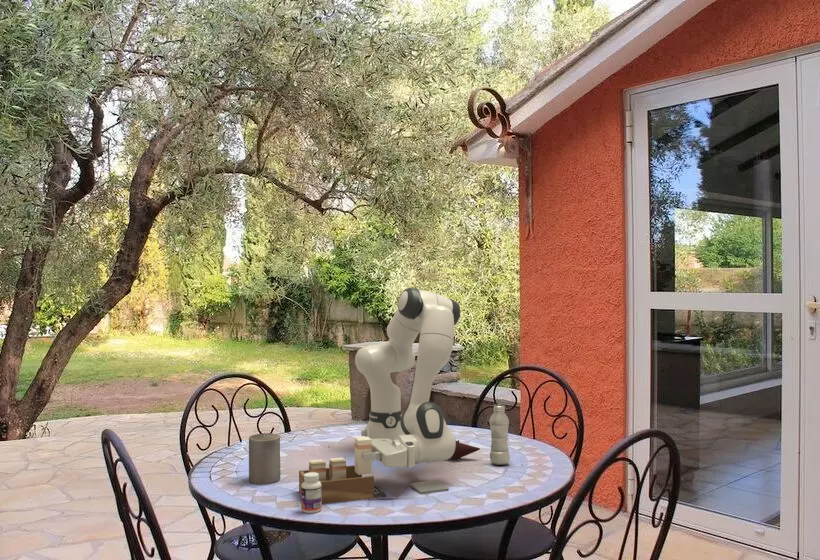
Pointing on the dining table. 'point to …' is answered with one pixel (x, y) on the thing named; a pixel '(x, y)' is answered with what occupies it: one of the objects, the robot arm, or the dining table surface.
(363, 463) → the banded cream pillar
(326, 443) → the dining table surface
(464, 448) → the icecream
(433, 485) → the pad
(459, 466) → the dining table surface
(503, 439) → the plastic bottle
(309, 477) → the pill bottle
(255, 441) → the pillar candle
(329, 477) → the dispenser
